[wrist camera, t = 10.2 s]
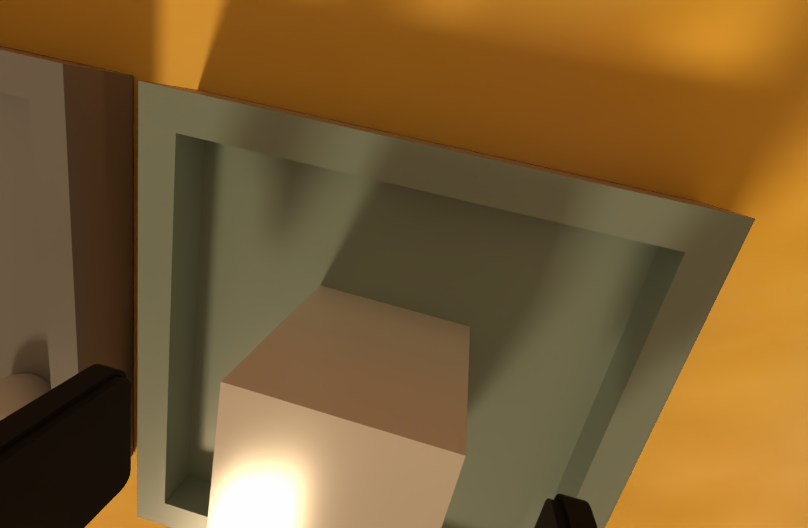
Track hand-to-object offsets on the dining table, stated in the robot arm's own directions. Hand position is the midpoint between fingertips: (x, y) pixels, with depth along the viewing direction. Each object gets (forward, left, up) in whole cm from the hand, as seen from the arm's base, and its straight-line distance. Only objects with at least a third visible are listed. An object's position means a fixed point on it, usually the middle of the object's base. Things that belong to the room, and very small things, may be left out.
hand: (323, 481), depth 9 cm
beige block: (0, 0, -4) cm, 4 cm away
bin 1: (0, +16, -5) cm, 16 cm away
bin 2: (0, 0, -5) cm, 5 cm away
